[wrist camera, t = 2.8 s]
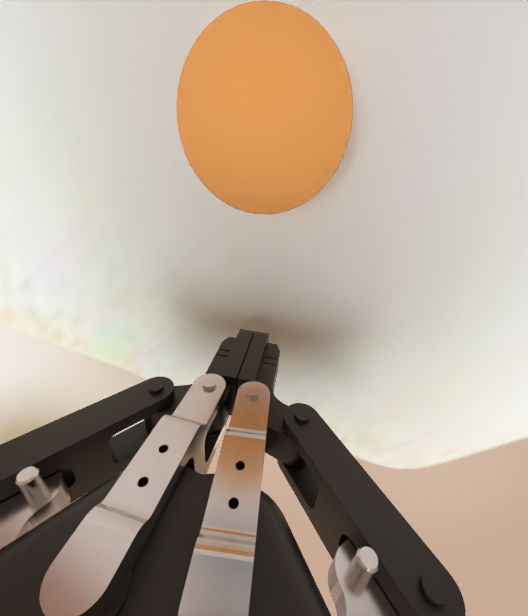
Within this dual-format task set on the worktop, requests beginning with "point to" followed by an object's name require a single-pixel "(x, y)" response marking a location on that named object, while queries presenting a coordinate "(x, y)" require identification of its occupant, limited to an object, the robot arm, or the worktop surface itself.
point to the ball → (264, 107)
